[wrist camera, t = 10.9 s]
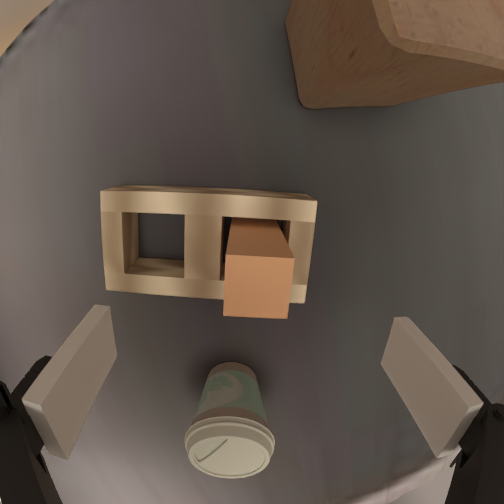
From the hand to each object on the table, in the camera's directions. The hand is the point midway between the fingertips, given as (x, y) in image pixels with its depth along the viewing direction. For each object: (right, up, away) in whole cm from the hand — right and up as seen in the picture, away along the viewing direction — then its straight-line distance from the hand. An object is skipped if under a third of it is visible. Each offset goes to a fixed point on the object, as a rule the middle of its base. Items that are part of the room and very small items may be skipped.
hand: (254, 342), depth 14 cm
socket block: (-4, +6, +17) cm, 18 cm away
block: (+8, +22, +12) cm, 27 cm away
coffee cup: (-3, -11, +22) cm, 25 cm away
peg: (0, +5, +17) cm, 18 cm away
